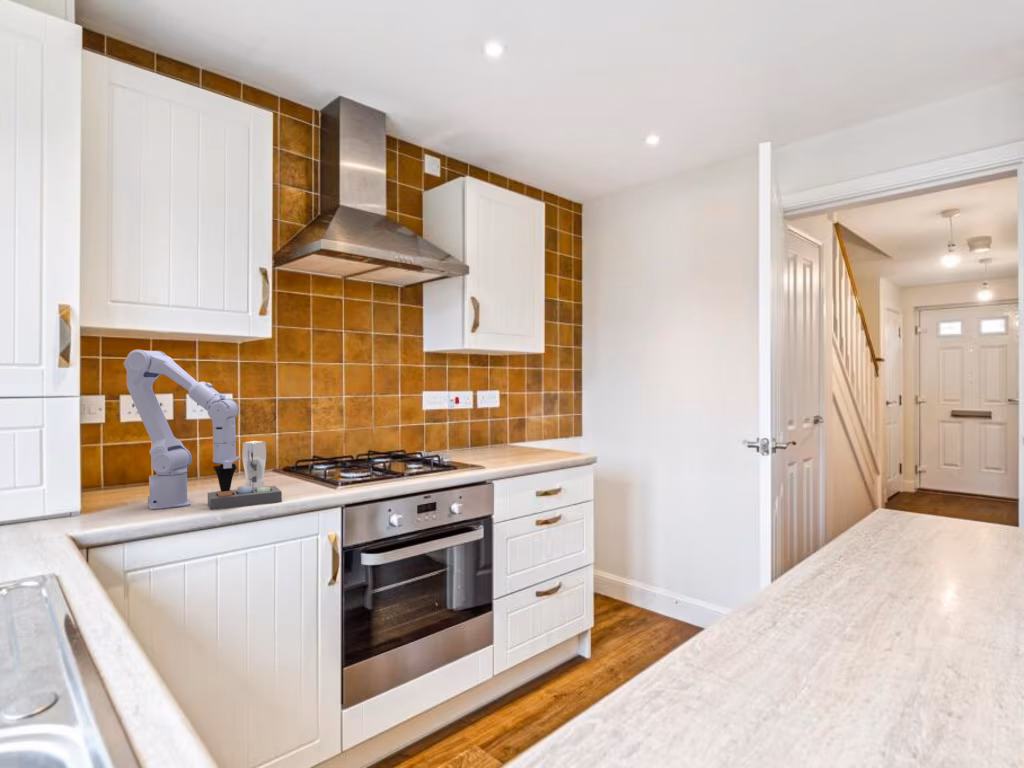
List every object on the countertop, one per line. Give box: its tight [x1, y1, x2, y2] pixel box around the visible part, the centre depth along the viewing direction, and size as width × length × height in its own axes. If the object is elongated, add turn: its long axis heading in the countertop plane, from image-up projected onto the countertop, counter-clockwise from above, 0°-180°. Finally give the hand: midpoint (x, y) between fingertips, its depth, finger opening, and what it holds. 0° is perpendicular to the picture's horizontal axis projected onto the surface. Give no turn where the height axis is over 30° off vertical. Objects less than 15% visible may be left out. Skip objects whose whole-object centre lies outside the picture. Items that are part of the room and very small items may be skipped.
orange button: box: [217, 489, 233, 496], centre depth 163 cm, size 4×4×3 cm
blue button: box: [237, 485, 252, 494], centre depth 166 cm, size 4×4×3 cm
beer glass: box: [241, 440, 267, 488], centre depth 186 cm, size 7×7×15 cm
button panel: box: [207, 485, 283, 511], centre depth 166 cm, size 18×10×3 cm, turn 122°
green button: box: [257, 486, 270, 492], centre depth 168 cm, size 4×4×3 cm
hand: (225, 490), depth 163 cm, fingers closed, pressing on orange button
